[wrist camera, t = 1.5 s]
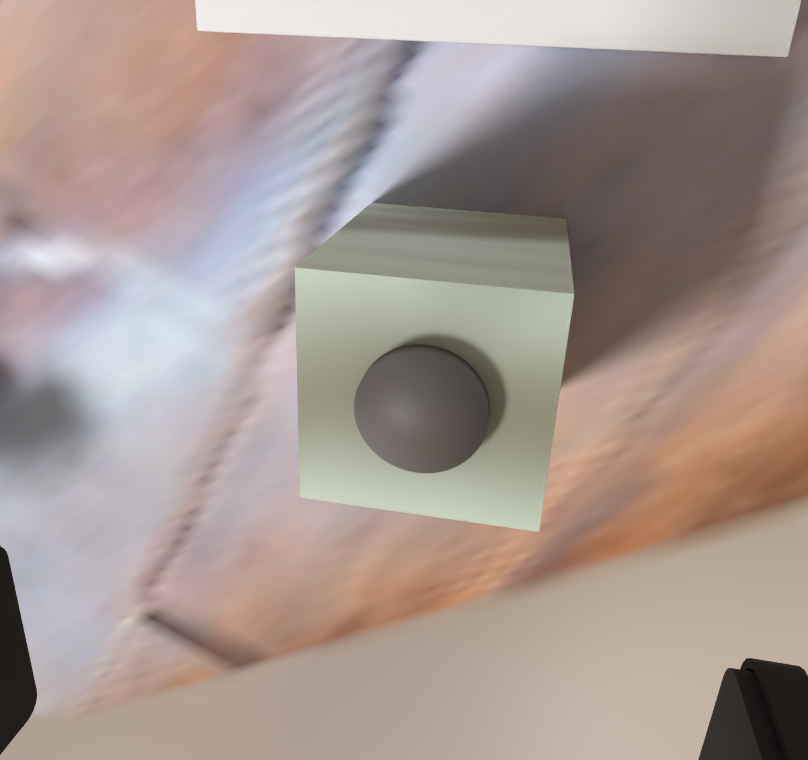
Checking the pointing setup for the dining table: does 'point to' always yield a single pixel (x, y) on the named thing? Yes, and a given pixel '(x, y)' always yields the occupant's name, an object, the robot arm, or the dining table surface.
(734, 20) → the press bed
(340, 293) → the block
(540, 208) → the dining table surface
